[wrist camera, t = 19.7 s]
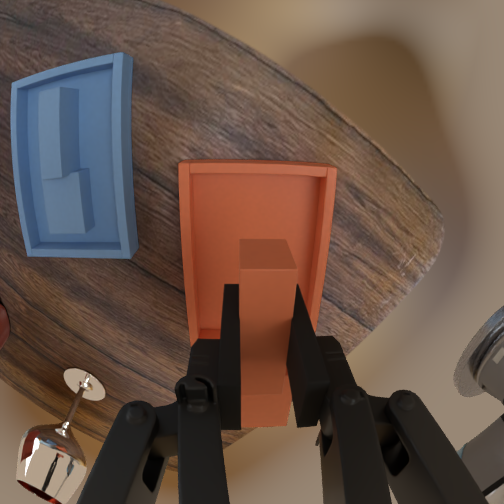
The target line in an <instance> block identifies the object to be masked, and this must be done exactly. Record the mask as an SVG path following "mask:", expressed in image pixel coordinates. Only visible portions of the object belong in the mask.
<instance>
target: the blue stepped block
mask: <svg viewBox="0 0 504 504" xmlns="http://www.w3.org/2000/svg"><path fill="white" fill-rule="evenodd" d="M78 112H79V89H74V88H67V87H56V88H52V89H49V90H45V91H42V92H39V112H38V121H39V152H40V166H41V177H42V185H43V193H44V201H45V208H46V215H47V221H48V227H49V232H50V234H86V233H87V232H88V231H89V230H91V229H92V228H93V227H94V226H95V222H94V214H93V205H92V196H91V185H90V173H89V168H82V169H80V154H79V119H78Z"/></svg>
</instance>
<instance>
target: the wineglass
mask: <svg viewBox="0 0 504 504" xmlns="http://www.w3.org/2000/svg"><path fill="white" fill-rule="evenodd" d="M64 379H65V382H66V383H67V385H68V386H69V387H70V388H71V389H72V390H73V391H74V392H75V393H77V394H76V396H75V398H74V401H73V403H72V405H71V407H70V409H69V412H68V414H67V416H66V418H65V420H64V421H63V422H62V423H59V424H50V425H38V426H35V427H32V428H30V429H29V430H27V431H26V432H25V434H24V435H23V437H22V439H21V443H20V448H19V454H18V463H17V476H16V480H17V482H18V483H19V484H20V485H22V486H23V487H24V488H25V489H27V490H28V491H30V492H31V493H33V494H35V495H36V496H38V497H40V498H42V499H44V500H46V501H48V502H50V503H53V504H66V503H67V502H68V500H69V499H70V498H71V496H72V495H73V493H74V492H75V491H76V489H77V488H78V486H79V485H80V483H81V482H82V480H83V478H84V476H85V474H86V470H87V463H86V458H85V455H84V452H83V450H82V449H81V447H80V445H79V444H78V442H77V440H76V438H75V437H74V435H73V433H72V431H71V428H70V423H71V420H72V418H73V416H74V413H75V411H76V409H77V406H78V404H79V402H80V400H81V398H82V397H83V398H86V399H89V400H95V401H97V400H101V399H103V398H104V397H105V394H106V391H105V388H104V386H103V384H102V383H101V382H100V380H99V379H98V378H96V377H95V376H94V375H92V374H91V373H89V372H87V371H85V370H83V369H80V368H74V367H72V368H68V369H67V370H66V371H65V372H64Z"/></svg>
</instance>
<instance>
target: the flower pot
mask: <svg viewBox="0 0 504 504" xmlns="http://www.w3.org/2000/svg"><path fill="white" fill-rule="evenodd" d="M9 333H10V325H9V319H8V316H7V312H6V310H5V307H4V306H2V305H1V304H0V350H1V349H2V347H3V345H4V344H5V342H6V341H7V339H8V337H9Z"/></svg>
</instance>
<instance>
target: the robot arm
mask: <svg viewBox="0 0 504 504" xmlns="http://www.w3.org/2000/svg"><path fill="white" fill-rule="evenodd" d="M286 367H287V372H288V378H289V383H290V389H291V394H292V400H293V406H294V411H295V417H296V423H297V427H298V428H299V427H310V426H317V423H318V420H319V421H320V425H321V430H320V432H319V435H318V437H317V440H316V446H318V444H320V456H321V470H322V485H323V503H324V504H392V502H391V497H390V492H389V486H390V488H391V490H392V492H393V494H394V496H395V498H396V500H397V502H398V504H504V414H503V415H501V416H500V417H499V418H498V419H497V420H496V421H495V422H493V423H492V424H491V425H490V426H489V427H488V428H486V429H485V430H484V431H483V432H482V433H480V434H479V435H478V436H476V437H475V438H474V439H472V440H471V441H470V442H468V443H466V444H465V445H464V446H463V447H462V448H461V449H460V450H458V451H457V452H456V451H455V449H454V447H453V446H452V444H451V443H450V441H449V440H448V438H447V437H446V436H445V434H444V432H443V431H442V430H441V428H440V427H439V425H438V424H437V422H436V421H435V419H434V418H433V416H432V415H431V413H430V412H429V411H428V409H427V408H426V406H425V405H424V403H423V402H422V401H421V399H420V398H419V397H418V396H417V395H416V394H415V393H413V392H411V391H408V390H399V391H396V392H394V393H393V394H392V395H391V397H390V398H383V397H375V396H370V395H368V394H367V393H366V391H365V390H363V389H362V388H361V387H359V386H357V384H356V382H355V380H354V377H353V375H352V372H351V370H350V367H349V365H348V362H347V360H346V357H345V355H344V353H343V350H342V347H341V345H340V343H339V342H338V341H337V340H336V339H335V338H334V337H333V336H317V337H316V335H315V332H314V329H313V326H312V323H311V320H310V317H309V314H308V311H307V308H306V305H305V302H304V299H303V296H302V293H301V290H300V287H299V285H298V284H297V285H296V294H295V303H294V311H293V317H292V321H291V329H290V337H289V345H288V353H287V361H286ZM474 379H475V381H476V383H477V384H478V386H479V387H480V388H481V389H483V390H484V391H486V392H487V393H489V394H490V395H492V396H494V397H495V398H497V399H498V400H500V401H501V402H502V404H503V405H504V331H503V332H502V333H501V334H500V335H499V336H498V337H497V338H496V339H495V341H494V342H493V343H492V344H491V345H490V347H489V348H488V349H487V351H486V352H485V353H484V355H483V356H482V358H481V360H480V362H479V363H478V366H477V368H476V371H475V375H474ZM175 393H176V397H177V401H176V402H174V403H172V404H169V405H166V406H160V407H153V406H152V405H151V404H149V403H147V402H144V401H132V402H129V403H127V404H126V405H124V406H123V407H122V408H121V410H120V411H119V413H118V415H117V417H116V419H115V421H114V423H113V425H112V427H111V429H110V431H109V433H108V436H107V438H106V440H105V442H104V444H103V446H102V448H101V450H100V453H99V455H98V457H97V459H96V461H95V464H94V466H93V468H92V470H91V472H90V474H89V476H88V479H87V481H86V483H85V485H84V488H83V490H82V492H81V495H80V497H79V499H78V501H77V504H155V502H156V498H157V495H158V492H159V489H160V485H161V482H162V479H163V476H164V472H165V469H166V466H167V463H168V460H169V457H171V456H176V455H178V489H179V504H230V502H229V495H228V488H227V480H226V473H225V465H224V457H223V448H222V439H221V430H241V352H240V318H239V284H224V292H223V305H222V318H221V331H220V339H199V338H198V339H197V340H196V341H195V343H194V344H193V345H192V347H191V353H190V358H189V364H188V370H187V376H185V377H183V378H181V379H180V380H179V381H178V382H177V383H176V386H175ZM388 484H389V486H388Z"/></svg>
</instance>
